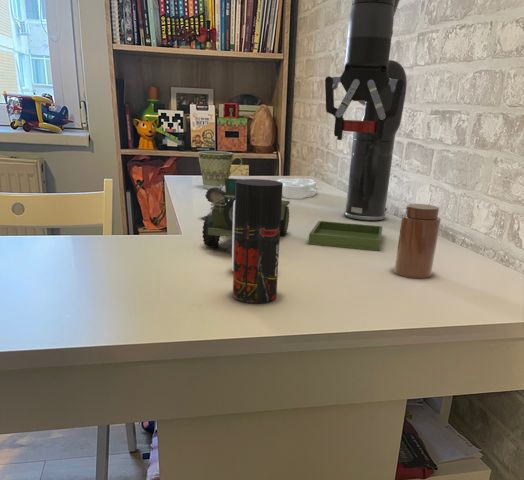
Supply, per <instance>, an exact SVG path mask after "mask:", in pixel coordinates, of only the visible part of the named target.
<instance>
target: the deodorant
mask: <svg viewBox="0 0 524 480" xmlns="http://www.w3.org/2000/svg"><path fill="white" fill-rule="evenodd" d="M241 179H242V178H241ZM282 187H283V183H282V182H279V181H277V180H272V179H263V178H262V179H260V178H243V179H242V180H237V181H235V223H234V266H233V271H232V272H233V273H232V274H233V276H232V297H233V299H235V300H236V301H239V302H241V303H247V304H267V303H272V302H274V301H275V300H276V299H277V291H278V276H279V275H278V274H279V257H280V255H279V254H280V238H281V234H280V222H281V205H282V200H283V196H282Z"/></svg>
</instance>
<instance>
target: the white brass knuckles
mask: <svg viewBox="0 0 524 480" xmlns="http://www.w3.org/2000/svg"><path fill="white" fill-rule="evenodd" d="M276 181H279V182H282V183H283V187H282V198H285V199H293V200H302V199H304V198H311V197H314V196H315V195H316V192H317V191H320V190H321V189H322V187H319V186H318V185H317V182H316V180H315V179H312V178H279V179H277V180H276Z"/></svg>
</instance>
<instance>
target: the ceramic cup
mask: <svg viewBox="0 0 524 480" xmlns="http://www.w3.org/2000/svg"><path fill="white" fill-rule="evenodd" d="M197 155H198V161H199V167H200V172H201V178H202V185H203V189H206V190H209V189H211V188H214V187H215V188H216V187H217V188H220V185H222V187H223V186H224V185H225V179H224V178H230V176H232V174H233V173H234V172H235V171H236V170H238V169H239V168H240V167H241V166H242V164H243V163H244V162H243V158H242V157H241V156H238V155H236V156H234V153H233V152H229V151H221V150H220V151H219V150H200V151H198V152H197ZM236 159H239V160H240V163H239V165H237V166H235V167H234V168H233V170H232V171H231V168H232V167H231V166H232V164H233V162H234V161H235V160H236ZM222 187H221V188H222ZM221 188H220V189H221Z"/></svg>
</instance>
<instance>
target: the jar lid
mask: <svg viewBox="0 0 524 480" xmlns="http://www.w3.org/2000/svg"><path fill="white" fill-rule="evenodd" d="M376 123H377V122H376V121H362V119H344V120H343V125H342V131H343V132H351V133H354V132H367V133H375V131H376Z"/></svg>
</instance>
